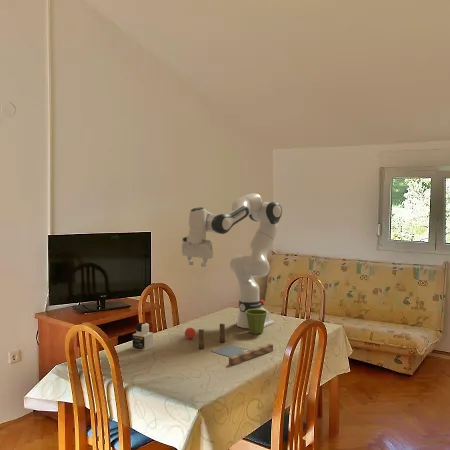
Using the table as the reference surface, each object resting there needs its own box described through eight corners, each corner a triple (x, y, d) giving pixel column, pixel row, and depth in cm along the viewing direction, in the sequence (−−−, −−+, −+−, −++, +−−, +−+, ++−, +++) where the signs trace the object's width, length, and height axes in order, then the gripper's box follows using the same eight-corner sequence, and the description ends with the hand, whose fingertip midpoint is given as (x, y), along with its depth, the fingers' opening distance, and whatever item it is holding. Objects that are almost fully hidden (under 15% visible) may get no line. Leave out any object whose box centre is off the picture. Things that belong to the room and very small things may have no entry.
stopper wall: (269, 349, 238) (269, 343, 238) (273, 350, 237) (273, 344, 237) (228, 364, 218) (228, 357, 218) (232, 365, 217) (232, 358, 217)
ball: (190, 336, 261) (190, 325, 261) (197, 338, 257) (197, 327, 257) (182, 338, 257) (182, 327, 257) (189, 340, 253) (189, 329, 253)
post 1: (201, 347, 243) (201, 328, 242) (205, 348, 241) (205, 329, 240) (197, 348, 241) (197, 330, 240) (201, 349, 239) (201, 331, 238)
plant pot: (268, 335, 262) (268, 314, 261) (245, 335, 262) (245, 314, 261) (266, 329, 274) (266, 309, 273) (245, 329, 274) (245, 309, 273)
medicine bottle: (132, 348, 241) (131, 324, 240) (141, 344, 247) (141, 320, 246) (144, 351, 237) (144, 326, 236) (153, 346, 244) (153, 322, 243)
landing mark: (232, 345, 246) (232, 344, 246) (253, 351, 236) (253, 350, 236) (211, 351, 236) (211, 351, 236) (233, 358, 226) (233, 358, 226)
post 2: (222, 340, 253) (222, 323, 252) (225, 342, 251) (225, 324, 250) (218, 342, 251) (218, 324, 250) (222, 343, 249) (222, 325, 249)
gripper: (216, 240, 253) (215, 267, 254) (188, 237, 267) (188, 263, 268) (207, 240, 249) (206, 268, 249) (179, 238, 263) (179, 264, 263)
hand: (197, 265), depth 259 cm, fingers open, 8 cm apart
